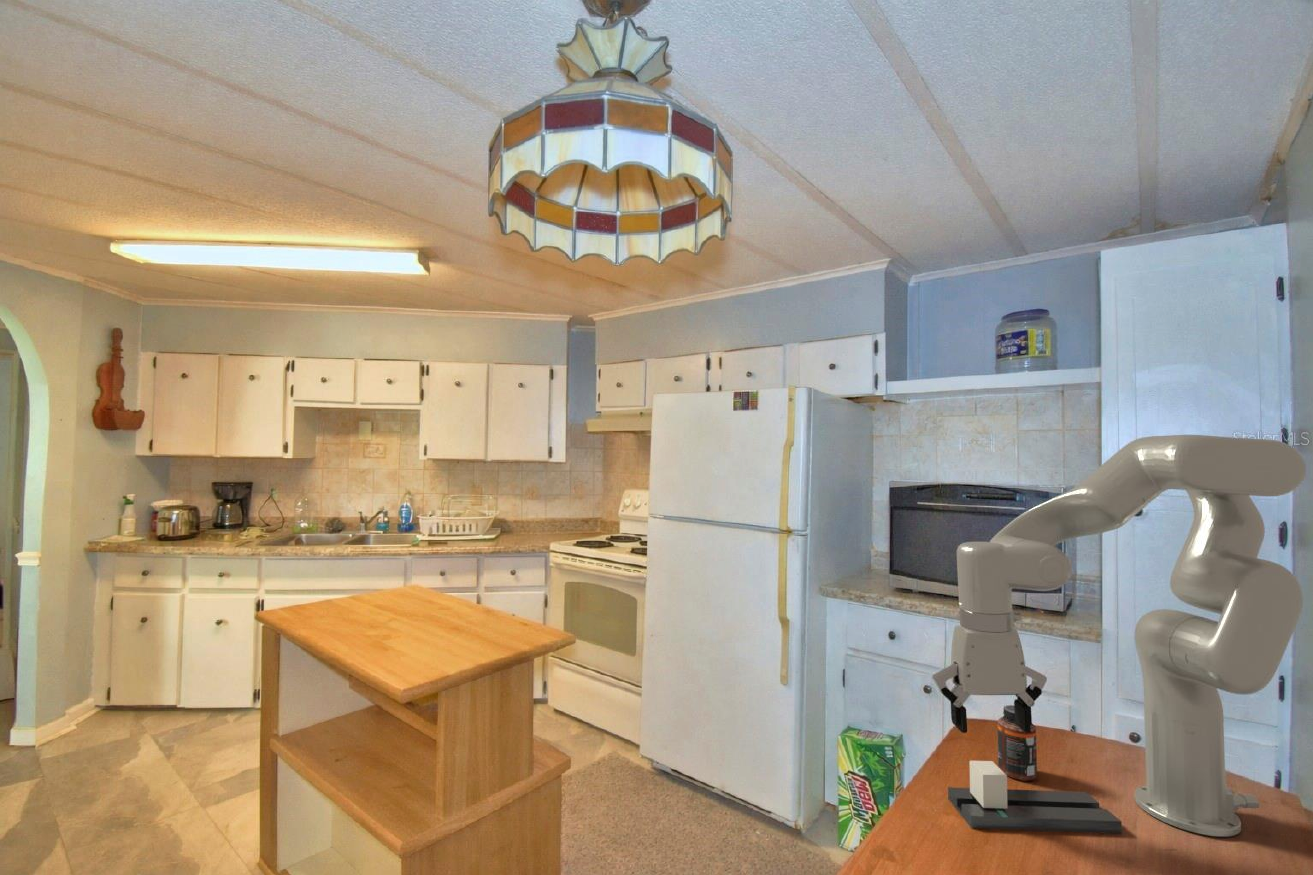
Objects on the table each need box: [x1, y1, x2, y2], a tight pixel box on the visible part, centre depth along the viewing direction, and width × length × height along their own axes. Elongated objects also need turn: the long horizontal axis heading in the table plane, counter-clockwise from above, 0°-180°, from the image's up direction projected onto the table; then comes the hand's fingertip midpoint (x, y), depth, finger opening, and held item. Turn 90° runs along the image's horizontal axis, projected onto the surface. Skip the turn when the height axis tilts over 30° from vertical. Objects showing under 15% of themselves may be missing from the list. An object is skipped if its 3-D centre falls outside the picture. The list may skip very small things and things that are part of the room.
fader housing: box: [947, 787, 1123, 834], centre depth 94 cm, size 22×8×2 cm, turn 87°
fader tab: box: [969, 760, 1008, 809], centre depth 94 cm, size 4×4×6 cm
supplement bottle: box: [997, 704, 1038, 782], centre depth 107 cm, size 6×6×11 cm
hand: (991, 728), depth 95 cm, fingers open, 9 cm apart
